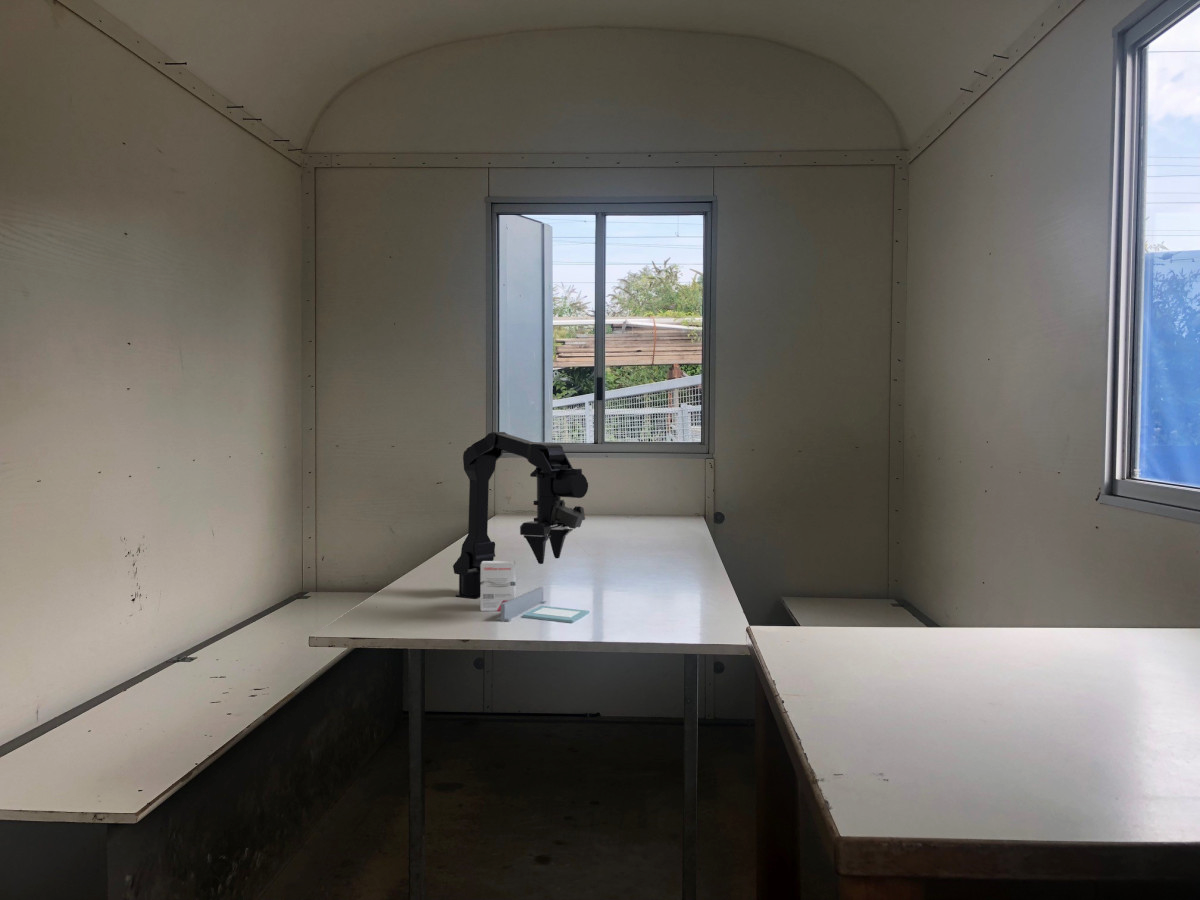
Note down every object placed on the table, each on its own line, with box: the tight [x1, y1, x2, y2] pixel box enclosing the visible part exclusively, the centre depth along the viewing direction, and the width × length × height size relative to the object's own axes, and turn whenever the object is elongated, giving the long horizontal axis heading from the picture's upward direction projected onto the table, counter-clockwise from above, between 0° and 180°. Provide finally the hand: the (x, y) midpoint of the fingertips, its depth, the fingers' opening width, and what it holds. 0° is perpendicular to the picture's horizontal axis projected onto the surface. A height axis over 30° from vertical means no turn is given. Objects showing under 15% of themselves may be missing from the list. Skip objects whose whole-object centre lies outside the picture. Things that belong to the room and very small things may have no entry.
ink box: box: [479, 560, 516, 612], centre depth 185 cm, size 8×5×12 cm, turn 96°
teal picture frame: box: [521, 605, 590, 624], centre depth 179 cm, size 13×10×1 cm
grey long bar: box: [497, 586, 547, 622], centre depth 183 cm, size 3×20×4 cm, turn 158°
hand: (549, 561), depth 180 cm, fingers open, 8 cm apart
